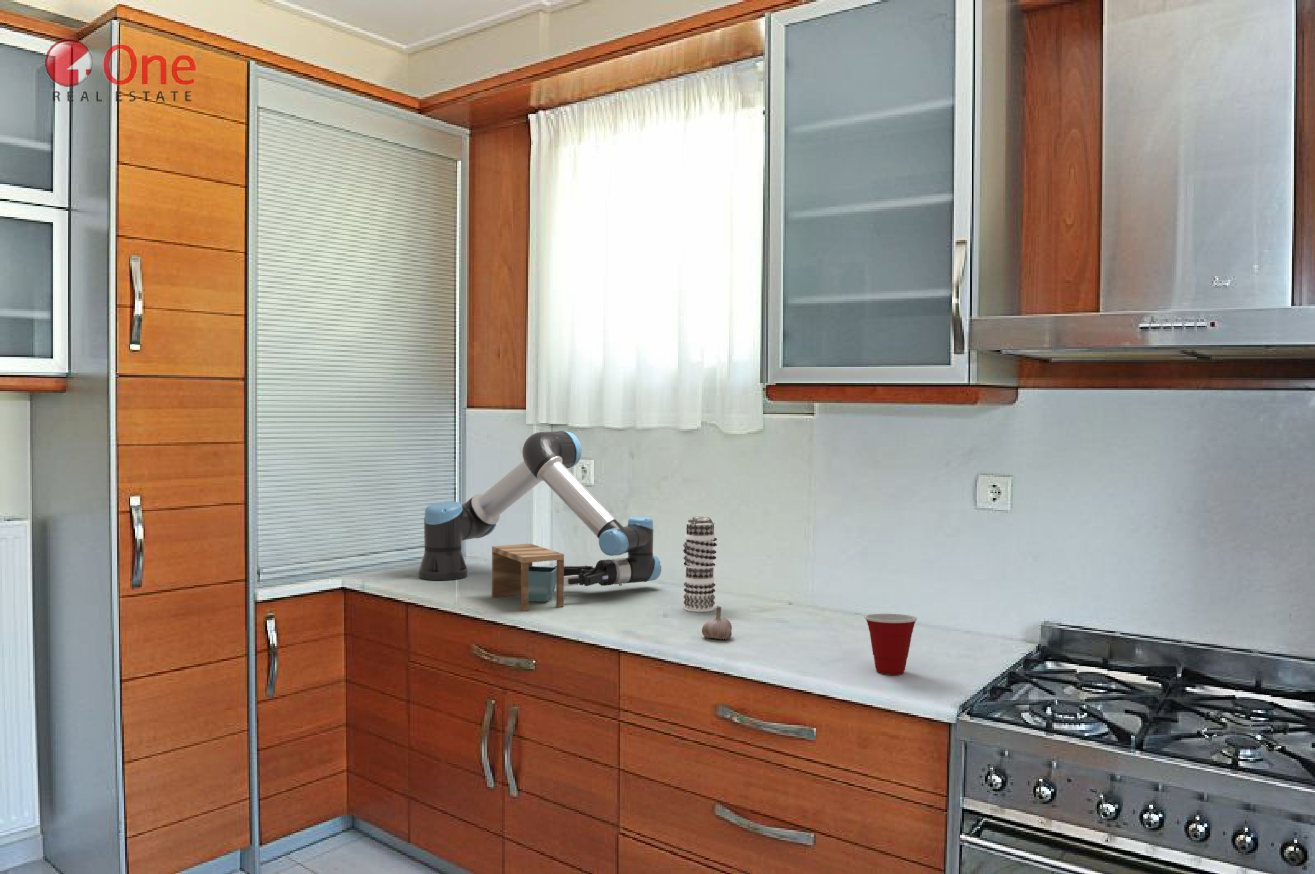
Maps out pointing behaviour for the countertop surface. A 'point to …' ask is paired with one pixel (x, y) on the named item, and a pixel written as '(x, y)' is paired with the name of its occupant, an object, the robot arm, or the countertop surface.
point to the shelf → (522, 570)
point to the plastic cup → (890, 641)
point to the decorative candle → (699, 565)
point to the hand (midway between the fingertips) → (546, 578)
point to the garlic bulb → (717, 627)
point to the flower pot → (541, 583)
